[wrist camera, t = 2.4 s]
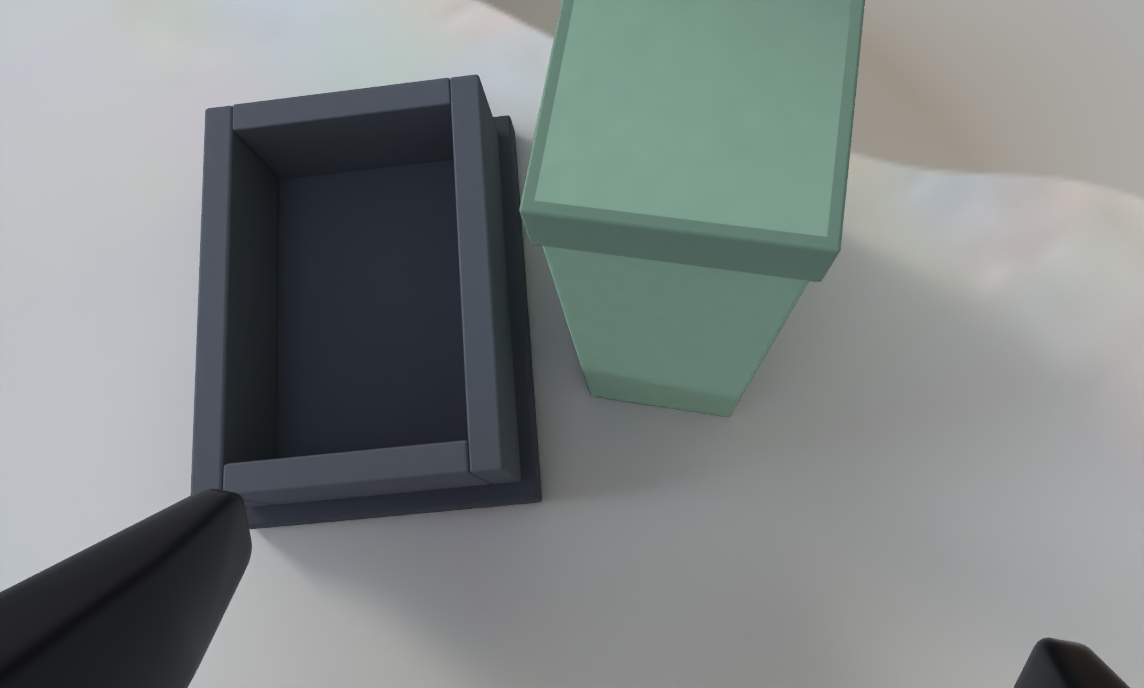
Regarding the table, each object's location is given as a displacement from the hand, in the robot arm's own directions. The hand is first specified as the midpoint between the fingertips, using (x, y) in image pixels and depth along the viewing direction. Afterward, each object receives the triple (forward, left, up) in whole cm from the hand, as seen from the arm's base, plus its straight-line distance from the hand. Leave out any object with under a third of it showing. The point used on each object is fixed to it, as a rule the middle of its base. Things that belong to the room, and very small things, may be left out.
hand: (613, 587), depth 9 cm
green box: (+5, -6, -13) cm, 16 cm away
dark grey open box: (+10, +1, -13) cm, 17 cm away
